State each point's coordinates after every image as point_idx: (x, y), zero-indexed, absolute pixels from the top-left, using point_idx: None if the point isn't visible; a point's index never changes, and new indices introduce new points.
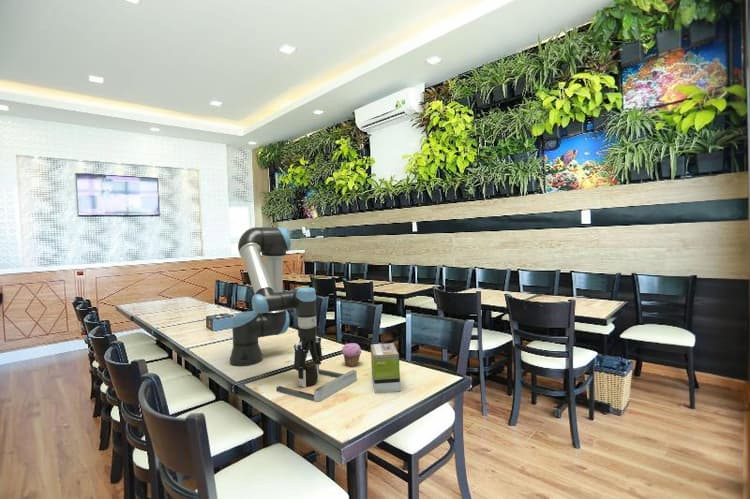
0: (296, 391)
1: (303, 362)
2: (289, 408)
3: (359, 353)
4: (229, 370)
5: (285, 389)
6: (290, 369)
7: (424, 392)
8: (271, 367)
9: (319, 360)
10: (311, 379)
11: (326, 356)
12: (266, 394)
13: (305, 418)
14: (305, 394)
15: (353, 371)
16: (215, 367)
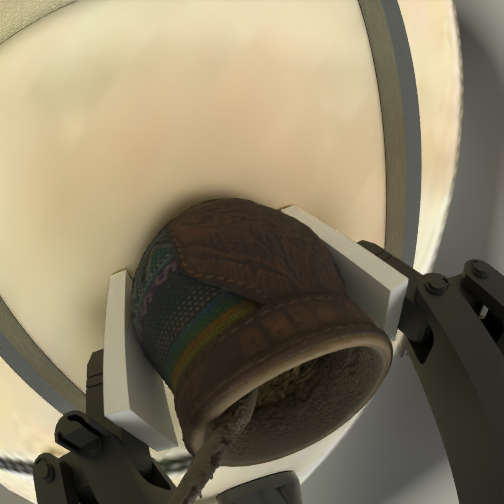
0: (414, 132)
1: (494, 350)
2: (453, 55)
3: None
4: (319, 454)
5: (417, 217)
6: (188, 456)
7: None
8: (234, 468)
9: (76, 470)
10: (263, 207)
11: (25, 468)
12: (425, 258)
13: None
14: (407, 44)
15: None
16: (321, 462)
